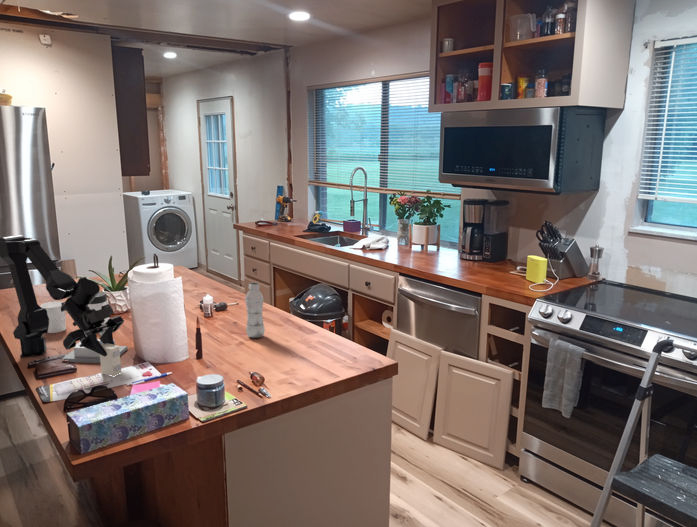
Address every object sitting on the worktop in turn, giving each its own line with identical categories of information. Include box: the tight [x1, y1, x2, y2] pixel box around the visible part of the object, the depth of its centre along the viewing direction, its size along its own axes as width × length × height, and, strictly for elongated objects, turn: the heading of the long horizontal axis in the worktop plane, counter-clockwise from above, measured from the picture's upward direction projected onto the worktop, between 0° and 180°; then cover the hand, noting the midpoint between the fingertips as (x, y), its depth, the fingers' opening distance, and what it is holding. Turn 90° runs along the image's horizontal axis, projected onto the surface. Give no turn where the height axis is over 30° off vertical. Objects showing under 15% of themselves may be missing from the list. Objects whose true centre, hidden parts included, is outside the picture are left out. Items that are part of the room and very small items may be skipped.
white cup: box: [40, 300, 67, 334], centre depth 205 cm, size 8×8×10 cm
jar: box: [88, 291, 111, 325], centre depth 211 cm, size 9×8×12 cm
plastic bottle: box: [244, 282, 266, 339], centre depth 200 cm, size 6×7×20 cm
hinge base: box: [61, 338, 128, 364], centre depth 182 cm, size 16×12×4 cm
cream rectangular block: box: [100, 343, 122, 377], centre depth 168 cm, size 6×3×9 cm, turn 65°
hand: (110, 353), depth 167 cm, fingers closed on cream rectangular block, 3 cm apart
